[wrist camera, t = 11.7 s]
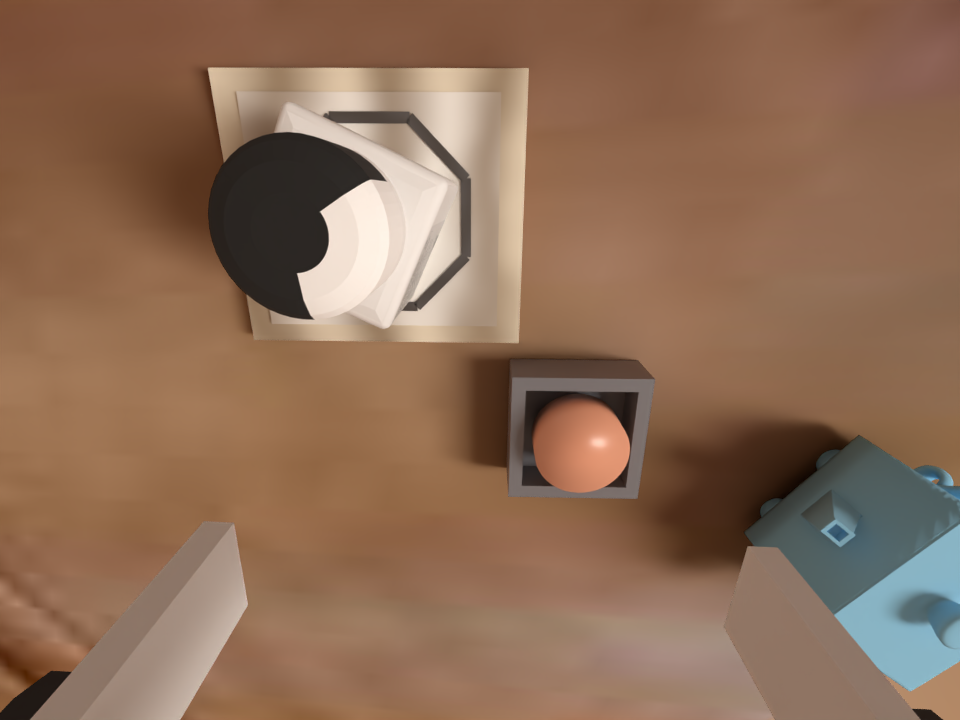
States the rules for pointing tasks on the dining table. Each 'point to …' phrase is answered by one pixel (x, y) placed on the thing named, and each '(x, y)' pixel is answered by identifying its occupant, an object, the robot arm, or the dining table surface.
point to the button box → (553, 378)
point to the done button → (579, 443)
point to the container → (326, 220)
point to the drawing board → (433, 144)
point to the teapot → (877, 555)
